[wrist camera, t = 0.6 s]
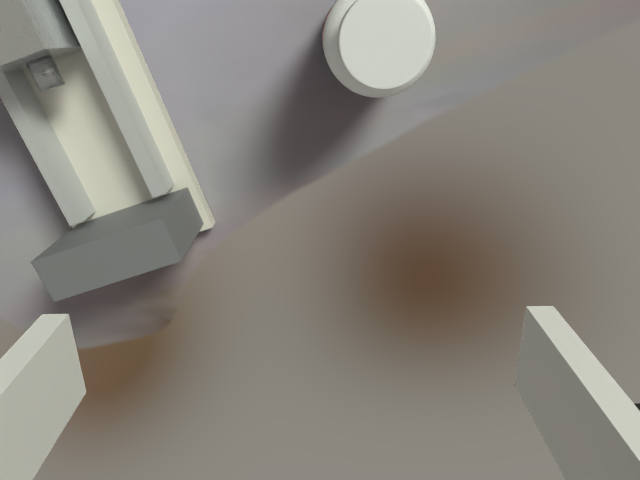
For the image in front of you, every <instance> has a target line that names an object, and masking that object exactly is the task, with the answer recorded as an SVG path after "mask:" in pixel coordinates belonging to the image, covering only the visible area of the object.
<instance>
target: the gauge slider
mask: <svg viewBox="0 0 640 480" xmlns="http://www.w3.org/2000/svg"><path fill="white" fill-rule="evenodd" d="M79 49H82V47H81V45H80V43H79V41H78V39H77V37H76V35H75V32H74V30H73V28H72V26H71V24H70V22H69V20H68V18H67V16H66V13H65V11H64V9H63V7H62V5H61V3H60V1H59V0H0V73H4V72H12V71H19V70H27V69H28V70H29V72H30V73H31V75H32V77H33V79H34V81H35V83H36V85H37V87H38V89H39V91H40V93H41V92H45V91H48V90H51V89H54V88H57V87H60V86H62V85H65V82H64V80H63V78H62V76H61V74H60V72H59V69H58V67H57V65H56V63H55V61H54V59H55V58H58V57H61V56H63V55H66V54H69V53H71V52H74V51H76V50H79Z"/></svg>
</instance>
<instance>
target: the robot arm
mask: <svg viewBox="0 0 640 480" xmlns="http://www.w3.org/2000/svg"><path fill="white" fill-rule="evenodd" d="M515 387H516V389H517V391H518V393H519V395H520V397H521V398H522V400H523V402H524V404H525V406H526V407H527V409H528V411H529V413H530V415H531V417H532V419H533V421H534V422H535V424H536V426H537V428H538V430H539V432H540V433H541V435H542V437H543V439H544V441H545V443H546V444H547V446H548V448H549V450H550V452H551V454H552V456H553V457H554V459H555V461H556V463H557V465H558V467H559V468H560V470H561V472H562V474H563V476H564V478H565V480H640V404H634V403H633V402H632V401H631V400H630V399H629V398H628V396H627V395H626V394H625V393H624V391H623V390H622V389H621V388H620V386H619V385H618V384H617V383H616V382H615V380H614V379H613V378H612V377H611V376H610V374H609V373H608V372H607V371H606V370H605V369H604V367H603V366H602V365H601V363H600V362H599V361H598V360H597V359H596V357H595V356H594V355H593V354H592V353H591V352H590V350H589V349H588V348H587V347H586V345H585V344H584V343H583V342H582V341H581V339H580V338H579V337H578V336H577V334H576V333H575V332H574V331H573V330H572V328H571V327H570V326H569V325H568V324H567V322H566V321H565V320H564V319H563V317H562V316H561V315H560V314H559V313H558V312H557V310H556V309H555V308H554V307H553V306H529V307H528V306H527V307H526V312H525V318H524V325H523V332H522V339H521V345H520V351H519V358H518V364H517V371H516V378H515ZM85 393H86V389H85V385H84V381H83V376H82V372H81V367H80V362H79V358H78V353H77V349H76V344H75V340H74V335H73V331H72V326H71V322H70V317H69V314H42V315H41V316H40V317H39V318H38V319H37V320H36V321H35V322H34V323H33V325H32V326H31V327H30V328H29V329H28V330H27V331H26V332H25V333H24V334H23V335H22V336H21V338H20V339H19V340H18V341H17V342H16V343H15V344H14V345H13V346H12V347H11V348H10V349H9V351H8V352H7V353H6V354H5V355H4V356H3V357H2V358H1V359H0V480H33V478H34V476H35V475H36V473H37V471H38V470H39V468H40V466H41V465H42V463H43V461H44V460H45V458H46V457H47V455H48V453H49V452H50V450H51V449H52V447H53V445H54V444H55V442H56V441H57V439H58V437H59V436H60V434H61V432H62V431H63V429H64V427H65V426H66V424H67V423H68V421H69V419H70V418H71V416H72V414H73V413H74V411H75V409H76V408H77V406H78V405H79V403H80V401H81V400H82V398H83V397H84V395H85Z"/></svg>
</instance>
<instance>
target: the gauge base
mask: <svg viewBox="0 0 640 480" xmlns="http://www.w3.org/2000/svg"><path fill="white" fill-rule="evenodd" d="M59 1H60V3H61V5H62V7H63V9H64V11H65V13H66V16H67V18H68V20H69V22H70V24H71V26H72V28H73V30H74V32H75V35H76V37H77V39H78V41H79V43H80V45H81V47H82V49H79V50H76V51H74V52H71V53H69V54H66V55H63V56H61V57H58V58H55V59H54V61H55V63H56V65H57V67H58V69H59V72H60V74H61V76H62V78H63V80H64V82H65V85H62V86H60V87H57V88H54V89H51V90H48V91H45V92H41V93H40V91H39V89H38V87H37V85H36V83H35V81H34V79H33V77H32V75H31V73H30V72H29V70H28V69H27V70H19V71H12V72H4V73H0V98H1V100H2V102H3V104H4V105H5V107H6V109H7V111H8V113H9V115H10V117H11V118H12V120H13V122H14V124H15V126H16V128H17V129H18V131H19V133H20V135H21V137H22V139H23V140H24V142H25V144H26V146H27V148H28V150H29V152H30V153H31V155H32V157H33V159H34V161H35V163H36V164H37V166H38V168H39V170H40V172H41V174H42V176H43V177H44V179H45V181H46V183H47V185H48V187H49V188H50V190H51V192H52V194H53V196H54V198H55V199H56V201H57V203H58V205H59V207H60V209H61V211H62V212H63V214H64V216H65V218H66V220H67V222H68V223H69V225H70V226H72V229H71V230H70V231H69V232H67V233H66V234H65V235H64V236H62V237H61V238H60V239H59V240H57V241H56V242H55V243H54V244H52V245H51V246H50V247H49V248H48V249H46V250H45V251H44V252H43V253H41V254H40V255H39V256H38V257H36V258H35V259H34V260H33V261H31V263H32V265H33V267H34V268H35V270H36V272H37V273H38V275H39V277H40V279H41V280H42V282H43V284H44V285H45V287H46V289H47V291H48V292H49V294H50V296H51V297H52V299H53V301H54V302H56V301H59V300H62V299H65V298H69V297H72V296H75V295H78V294H81V293H84V292H87V291H90V290H93V289H96V288H100V287H103V286H106V285H109V284H112V283H115V282H118V281H121V280H124V279H128V278H131V277H134V276H137V275H140V274H143V273H146V272H149V271H152V270H155V269H159V268H162V267H165V266H168V265H171V264H174V263H177V262H180V261H182V260H183V258H184V256H185V255H186V253H187V251H188V249H189V248H190V246H191V244H192V243H193V241H194V239H195V238H196V236H197V234H198V233H199V232H201V231H204V230H207V229H210V228H213V226H214V224H215V220H214V218H213V215H212V213H211V211H210V209H209V206H208V204H207V202H206V199H205V197H204V195H203V193H202V190H201V188H200V186H199V183H198V181H197V179H196V176H195V174H194V172H193V170H192V167H191V165H190V163H189V160H188V158H187V156H186V153H185V151H184V149H183V147H182V144H181V142H180V140H179V137H178V135H177V133H176V131H175V128H174V126H173V124H172V121H171V119H170V117H169V114H168V112H167V110H166V108H165V105H164V103H163V101H162V98H161V96H160V94H159V91H158V89H157V87H156V85H155V82H154V80H153V78H152V75H151V73H150V71H149V69H148V66H147V64H146V62H145V59H144V57H143V55H142V52H141V50H140V48H139V46H138V43H137V41H136V39H135V36H134V34H133V32H132V29H131V27H130V25H129V23H128V20H127V18H126V16H125V13H124V11H123V9H122V7H121V4H120V2H119V0H59Z"/></svg>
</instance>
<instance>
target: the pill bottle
mask: <svg viewBox="0 0 640 480" xmlns="http://www.w3.org/2000/svg"><path fill="white" fill-rule="evenodd" d="M322 45H323V50H324V54H325V58H326V60H327V63H328V65H329V67H330V69H331V71H332V72H333V74H334V75H335V77H336V78H337V79H338V80H339V81H340V82H341V83H342V84H343V85H344V86H345V87H347V88H348V89H349V90H351V91H353V92H355V93H357V94H360V95H363V96H366V97H373V98H382V97H388V96H393V95H395V94H398V93H400V92H402V91H404V90H406V89H407V88H409V87H410V86H412V85H413V84H414V83H415V82H416V81H417V80H418V79H419V78H420V77H421V76H422V74H423V73H424V72H425V70H426V68H427V67H428V65H429V63H430V60H431V58H432V55H433V51H434V46H435V27H434V22H433V18H432V15H431V12H430V10H429V8H428V6H427V4H426V3H425V1H424V0H337V1H336V2H335V3H334V5H333V6H332V8H331V9H330V11H329V13H328V15H327V17H326V19H325V22H324V26H323V31H322Z"/></svg>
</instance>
